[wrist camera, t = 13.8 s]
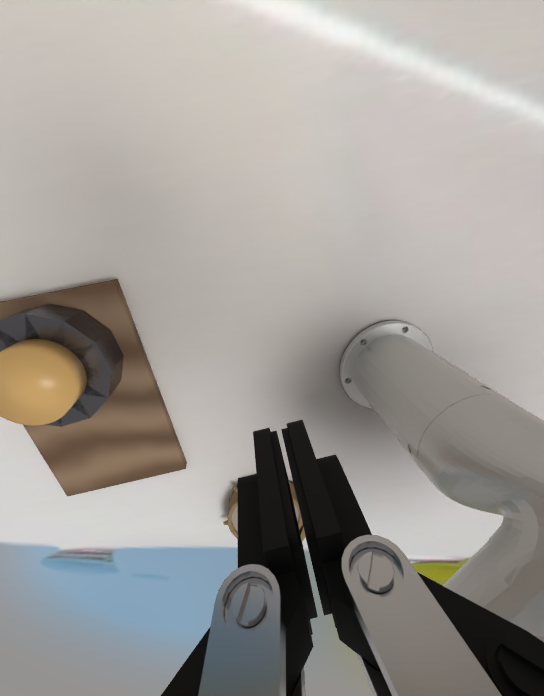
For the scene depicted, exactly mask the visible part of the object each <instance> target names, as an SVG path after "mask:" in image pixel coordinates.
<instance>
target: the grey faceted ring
mask: <svg viewBox="0 0 544 696" xmlns="http://www.w3.org/2000/svg"><path fill="white" fill-rule="evenodd" d="M27 339H44V340H49V341H53V342H55V343H58V344H60V345H62V346H64V347H66V348H67V349H69V350H70V351H71V352H73V353H74V354H75V355H76V356H77V357H78V359H79V360H80V361H81V363H82V364H83V366H84V368H85V371H86V376H87V383H86V388H85V390H84V392H83V394H82V395H81V396H80V398H79V399H78V400H77V401H76V402H75V403H74V405H73V406H72V407H71V408H70V409H69V410H68V412H67V413H66V414H65V415H64V416H63V417H61V418H60V419H58V420H56V421H54V422H52V423H49V424H45V425H51V426H59V427H62V426H66V425H69V424H72V423H76V422H79V421H82V420H86V419H89V418H91V417H92V416H93V415H94V414H95V413H96V412H97V410H98V409H99V408H100V407H101V406H102V405H103V404H104V403H105V402H106V401H107V400H108V398H109V397H110V396H111V394H112V393H113V391H114V390H115V388H116V387H117V386H118V384H119V383H120V381H121V379H122V369H123V359H124V355H123V353H122V351H121V349H120V347H119V345H118V343H117V341H116V339H115V337H114V335H113V333H112V331H111V330H110V329H109V328H108V327H106V326H105V325H103V324H102V323H101V322H99V321H98V320H96V319H95V318H94V317H92V316H91V315H90V314H88V313H87V312H85V311H84V310H80V309H75V308H70V307H66V306H61V305H56V304H51V303H48V304H45V305H42V306H38V307H35V308H31V309H28V310H25V311H21V312H18V313H16V314H13V315H11V316H8V317H6V318H4V319H1V320H0V352H1V351H3V350H4V349H6V348H8V347H10V346H12V345H13V344H15V343H17V342H20V341H22V340H27Z"/></svg>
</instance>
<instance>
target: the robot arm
mask: <svg viewBox="0 0 544 696" xmlns="http://www.w3.org/2000/svg"><path fill="white" fill-rule="evenodd" d="M361 340H362V341H361ZM340 380H341V384H342V386H343V388H344V390H345V392H346V393H347V394H348V396H349V397H350V398H351V399H352V400H353V401H354V402H356V403H357V404H359V405H361V406H363V407H367V408H372V409H374V410H375V411H376V412H377V414H378V415H379V416H380V418H381V419H382V420H383V421H384V423H385V424H386V425H387V426H388V428H389V429H390V430H391V432H392V433H393V434H394V435H395V437H396V438H397V439H398V440H399V442H400V443H401V444H402V445H403V447H404V448H405V449H406V451H407V452H408V453H409V454H410V456H411V457H412V458H413V459H414V461H415V462H416V463H417V465H418V466H419V467H420V468H421V470H422V471H423V472H424V474H425V475H426V476H427V477H428V479H429V480H430V481H431V482H432V483H433V485H434V486H435V487H436V488H437V489H438V490H439V491H441V492H442V493H443V494H444V495H446V496H447V497H449V498H450V499H452V500H453V501H455V502H457V503H460V504H462V505H465V506H467V507H470V508H473V509H477V510H480V511H485V512H489V513H494V514H499V515H503V522H502V524H501V526H500V527H499V528H498V529H497V531H496V532H495V533H494V534H493V535H492V536H491V537H490V538H489V541H488V542H487V543H486V544H485V545H484V546H483V547H482V548H481V549H480V550H479V551H478V552H477V553H475V554H474V555H473V556H472V557H471V558H470V559H469V560H468V561H467V562H466V563H465V564H464V565H463V566H462V567H461V568H460V569H459V570H458V571H457V572H456V573H455V574H454V575H453V576H452V577H451V578H450V579H449V580H448V581H447V582H446V583H445V584H444V586H442V585H440V584H438V583H436V582H435V581H433V580H431V579H429V578H427V577H425V576H423V575H421V574H420V573H418V572H416V570H415V569H414V567H413V566H412V564H411V563H410V561H409V560H408V558H407V557H406V556H405V554H404V553H403V552H402V551H401V550H400V548H399V547H398V546H397V545H395V544H394V543H393V542H391V541H390V540H388V539H386V538H383V537H380V536H377V535H372V534H371V531H370V529H369V527H368V525H367V522H366V520H365V518H364V516H363V514H362V511H361V509H360V507H359V505H358V502H357V500H356V498H355V496H354V493H353V491H352V489H351V487H350V484H349V482H348V480H347V478H346V475H345V473H344V471H343V469H342V466H341V464H340V462H339V460H338V458H337V456H336V455H332V456H328V457H324V458H320V459H316V457H315V455H314V452H313V449H312V446H311V443H310V440H309V437H308V434H307V432H306V429H305V426H304V423H303V420H300V421H296V422H291V423H287V428H285V429H281V430H282V434H283V438H284V443H285V447H286V452H287V456H288V461H289V465H290V469H291V474H292V478H293V483H294V487H295V491H296V496H297V500H298V505H299V509H300V513H301V518H302V522H303V527H304V531H305V535H306V540H307V544H308V548H309V552H310V557H311V561H312V565H313V569H314V574H315V578H316V582H317V587H318V591H319V595H320V600H321V604H322V608H323V612H324V615H328V614H331V613H332V615H333V619H334V622H335V627H336V628H337V632H338V635H339V639H340V640H341V641H342V642H343V643H345V644H346V645H347V646H348V647H350V648H351V649H352V650H353V651H355V652H356V653H357V654H358V658H359V660H360V663H361V665H362V668H363V670H364V673H365V675H366V677H367V680H368V682H369V685H370V687H371V690H372V692H373V695H374V696H544V421H543V420H542V419H540V418H538V417H536V416H535V415H533V414H531V413H530V412H528V411H526V410H525V409H523V408H522V407H520V406H518V405H517V404H515V403H513V402H512V401H510V400H509V399H507V398H506V397H504V396H502V395H501V394H499V393H497V392H496V391H494V390H493V389H491V388H489V387H488V386H486V385H485V384H483V383H481V382H480V381H478V380H477V379H475V378H473V377H472V376H470V375H469V374H467V373H465V372H464V371H462V370H461V369H459V368H457V367H456V366H454V365H453V364H451V363H449V362H448V361H446V360H445V359H443V358H441V357H440V356H438V355H437V354H435V353H433V349H432V346H431V343H430V340H429V339H428V337H427V336H426V334H425V333H424V332H422V331H421V330H420V329H419V328H417V327H415V326H414V325H411V324H409V323H407V322H403V321H385V322H380V323H377V324H375V325H372V326H370V327H368V328H367V329H365V330H363V331H362V332H361V333H360V334H358V335H357V336H356V337H355V338H354V339H353V340H352V342H351V343H350V344H349V345H348V347H347V349H346V350H345V352H344V354H343V357H342V360H341V364H340ZM253 435H254V447H255V459H256V471H257V474H254V475H250V476H246V477H242V478H238V484H237V489H238V569H236V570H235V571H233V572H232V573H231V574H230V575H229V576H228V577H227V578H226V579H225V580H224V582H223V584H222V585H221V587H220V589H219V591H218V594H217V597H216V601H215V605H214V611H213V616H212V622H211V627H210V628H209V629H208V631H207V632H206V634H205V635H204V636H203V638H202V639H201V641H200V642H199V644H198V645H197V646H196V648H195V649H194V650H193V652H192V653H191V654H190V656H189V658H188V659H187V660H186V662H185V663H184V664H183V666H182V667H181V668H180V670H179V671H178V673H177V674H176V675H175V677H174V678H173V680H172V681H171V682H170V684H169V685H168V687H167V688H166V689H165V691H164V692H163V694H162V695H161V696H306V694H305V673H304V665H305V662H306V661H307V658H308V656H309V654H310V652H311V650H312V648H313V643H312V637H311V635H312V628H311V623H310V619H312V618H316V617H317V612H316V607H315V602H314V598H313V593H312V588H311V583H310V579H309V574H308V569H307V565H306V560H305V555H304V550H303V545H302V540H301V536H300V531H299V526H298V521H297V517H296V512H295V507H294V502H293V498H292V493H291V489H290V485H289V481H288V476H287V472H286V468H285V464H284V460H283V456H282V452H281V447H280V443H279V439H278V435H277V431H273V432H270V429H269V428H266V429H262V430H258V431H254V432H253Z"/></svg>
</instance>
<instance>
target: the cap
mask: <svg viewBox="0 0 544 696" xmlns="http://www.w3.org/2000/svg"><path fill="white" fill-rule="evenodd" d="M86 383H87V376H86V371H85V368H84V366H83V364H82V363H81V361H80V360H79V359H78V357H77V356H76V355H75V354H74V353H73V352H71V351H70V350H69V349H67V348H66V347H64V346H62V345H60V344H58V343H55V342H53V341H49V340H44V339H27V340H22V341H20V342H17V343H15V344H13V345H12V346H10V347H8V348H6V349H4V350H3V351H1V352H0V416H1V417H3V418H5V419H7V420H9V421H12V422H15V423H19V424H24V425H45V424H49V423H52V422H54V421H56V420H58V419H60V418H61V417H63V416H64V415H65V414H66V413H67V412H68V410H69V409H70V408H71V407H72V406H73V405H74V403H75V402H76V401H77V400H78V399H79V398H80V396H81V395H82V394H83V392H84V390H85V388H86Z"/></svg>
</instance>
